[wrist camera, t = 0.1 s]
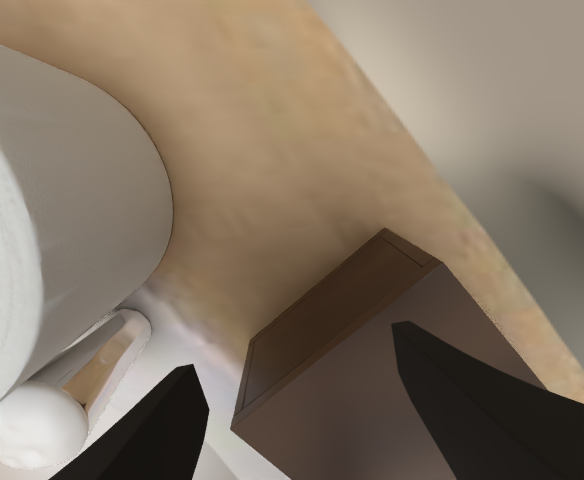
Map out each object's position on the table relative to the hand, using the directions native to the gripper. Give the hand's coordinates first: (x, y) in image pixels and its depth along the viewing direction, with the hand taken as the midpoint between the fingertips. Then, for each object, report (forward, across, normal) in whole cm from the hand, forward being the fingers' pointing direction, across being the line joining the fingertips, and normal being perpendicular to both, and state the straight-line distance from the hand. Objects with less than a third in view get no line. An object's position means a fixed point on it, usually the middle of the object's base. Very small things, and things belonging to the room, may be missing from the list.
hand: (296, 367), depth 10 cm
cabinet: (+10, -5, +7) cm, 13 cm away
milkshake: (+10, +13, +2) cm, 17 cm away
